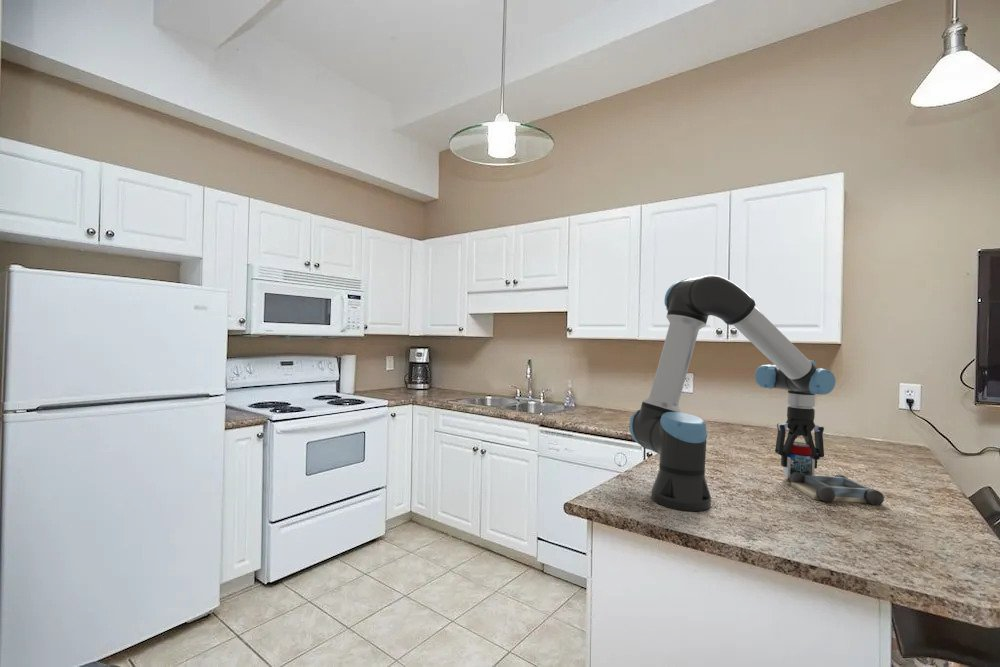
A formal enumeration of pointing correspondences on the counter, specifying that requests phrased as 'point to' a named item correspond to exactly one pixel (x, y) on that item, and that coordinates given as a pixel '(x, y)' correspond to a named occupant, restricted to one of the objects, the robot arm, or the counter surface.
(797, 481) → the chassis
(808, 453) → the beverage can
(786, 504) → the counter surface
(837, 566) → the counter surface
